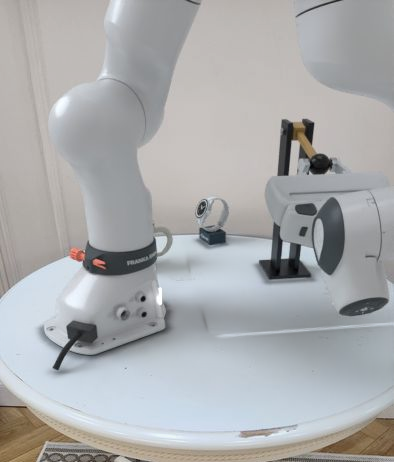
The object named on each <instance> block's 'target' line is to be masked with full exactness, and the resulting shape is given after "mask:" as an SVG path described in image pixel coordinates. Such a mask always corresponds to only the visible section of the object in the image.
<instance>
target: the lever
mask: <svg viewBox="0 0 394 462" xmlns="http://www.w3.org/2000/svg"><path fill="white" fill-rule="evenodd" d="M291 122H292V123H293V132H292V142H296V141H297V142H298V143H299V145H300V144H301V146H302V147H303V149H304V150H305V152H306V154H307V155H308V157H309V158H310V160H309V162H310V168H309V173H310V174H311V175H320V174H328V172H329V168H330V160H329V159H330V157H329V156H327V155H326V154H325V153H321V152H319V153H318V152H317V151H316V149H315V148H314V146H313V144H312V145H311V144H310V142H309V141H308V139H307V138H306V136H305V135H304V134H305V128H306V127H305V126H304V125H303V123H302V121H291Z"/></svg>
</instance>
